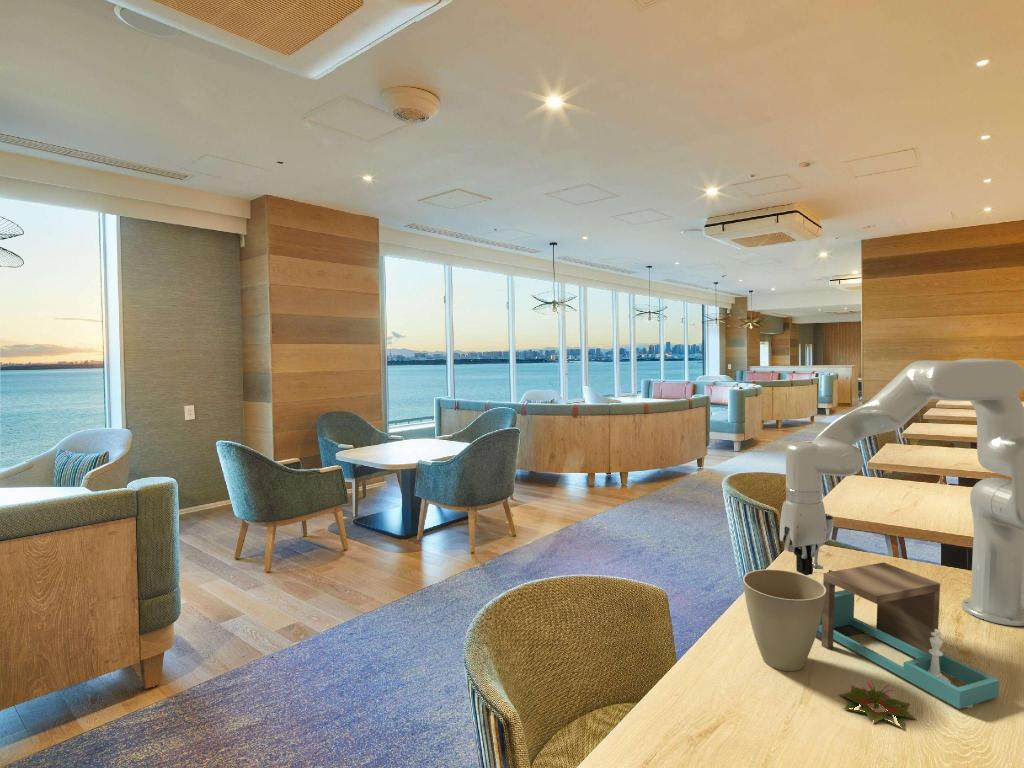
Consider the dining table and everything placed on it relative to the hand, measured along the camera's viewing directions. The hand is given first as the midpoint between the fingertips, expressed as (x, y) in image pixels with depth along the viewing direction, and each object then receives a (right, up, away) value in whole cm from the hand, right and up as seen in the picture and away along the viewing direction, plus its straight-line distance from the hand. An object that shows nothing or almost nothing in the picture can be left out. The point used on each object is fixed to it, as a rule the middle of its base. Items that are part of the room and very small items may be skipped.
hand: (804, 572), depth 138 cm
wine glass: (+16, -8, +27) cm, 32 cm away
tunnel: (+4, -10, -13) cm, 17 cm away
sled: (+7, -10, -22) cm, 25 cm away
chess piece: (+10, -11, -29) cm, 32 cm away
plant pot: (-15, -11, -21) cm, 28 cm away
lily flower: (-6, -12, -36) cm, 39 cm away
